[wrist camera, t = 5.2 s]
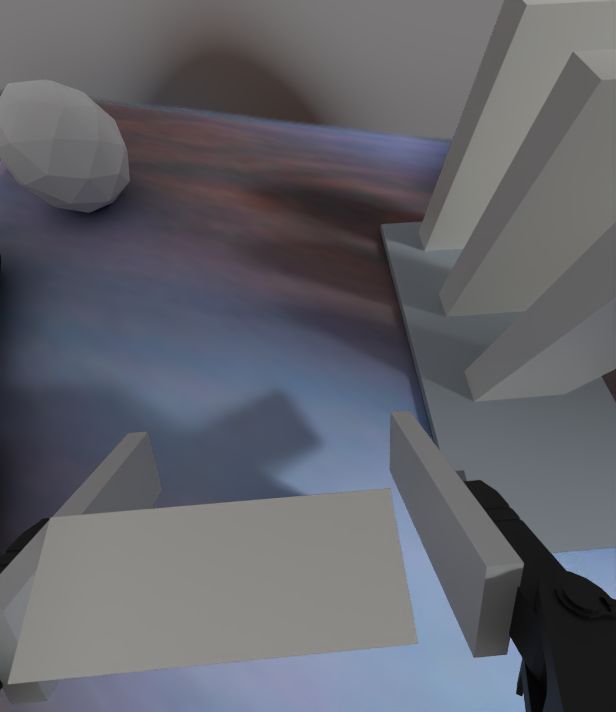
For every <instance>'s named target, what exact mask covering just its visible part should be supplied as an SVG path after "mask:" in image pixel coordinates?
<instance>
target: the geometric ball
mask: <svg viewBox="0 0 616 712" xmlns="http://www.w3.org/2000/svg"><path fill="white" fill-rule="evenodd" d="M0 159H1V161H2V162H3V163H4V165H5V166H6V167H7V169H8V170H9V171H10V173H11V174H12V176H13V177H14V178H15V180H16V181H17V182H18V184H20V185H21V186H23V187H24V188H26V189H27V190H29V191H30V192H32V193H33V194H35V195H36V196H38V197H39V198H41V199H42V200H44V201H45V202H47V203H48V204H50V205H51V206H53V207H57V208H63V209H69V210H75V211H81V212H87V213H90V212H92V211H95V210H97V209H99V208H102V207H104V206H107V205H109V204H111V203H113V202H114V201H115V200H116V198H117V197H118V196H119V194H120V193H121V192H122V191H123V189H124V188H125V187H126V186H127V184H128V183H129V182H130V176H129V164H128V152H127V149H126V146H125V144H124V141H123V139H122V136H121V134H120V132H119V129H118V127H117V124H116V122H115V120H114V119H113V118H112V117H111V116H110V115H108V114H107V113H106V112H105V111H104V110H103V109H102V108H100V107H99V106H98V105H97V104H96V103H95V102H94V101H93V100H91V99H90V98H89V97H88V96H87V95H86V94H85V93H83V92H82V91H79V90H76V89H73V88H71V87H68V86H65V85H62V84H59V83H56V82H54V81H51V80H35V81H26V82H18V83H9V84H7V86H6V88H5V90H4V91H3V93H2V95H1V96H0Z"/></svg>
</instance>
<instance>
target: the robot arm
mask: <svg viewBox="0 0 616 712" xmlns="http://www.w3.org/2000/svg"><path fill="white" fill-rule="evenodd" d="M390 472H391V475H392V477H393V479H394V481H395V483H396V486H397V488H398V490H399V492H400V495H401V497H402V499H403V501H404V503H405V506H406V508H407V510H408V512H409V515H410V517H411V519H412V521H413V523H414V526H415V528H416V530H417V532H418V535H419V537H420V539H421V541H422V543H423V546H424V548H425V550H426V552H427V555H428V557H429V559H430V561H431V563H432V566H433V568H434V570H435V572H436V575H437V577H438V579H439V581H440V584H441V586H442V588H443V590H444V592H445V595H446V597H447V599H448V601H449V604H450V606H451V608H452V610H453V612H454V615H455V617H456V619H457V621H458V624H459V626H460V628H461V630H462V632H463V635H464V637H465V639H466V641H467V644H468V646H469V648H470V650H471V652H472V655H473V657H474V658H476V657H486V656H496V655H506V654H507V651H508V646H509V641H510V637H511V639H512V640H513V642H514V644H515V646H516V647H517V649H518V651H519V653H520V654H521V656H522V663H521V668H520V672H519V677H518V682H517V691H516V694H518V695H520V696H522V695H523V693H524V701H525V709H526V712H616V600H615V599H612V598H611V597H610V596H609V595H608V594H607V593H606V592H605V591H604V590H603V589H602V588H600V587H599V586H597V585H596V584H594V583H592V582H591V581H589V580H588V579H586V578H584V577H582V576H579V575H577V574H574V573H572V572H569V571H566V570H565V569H564V568H563V567H562V565H561V564H560V563H559V562H558V561H557V560H556V559H555V557H554V556H553V555H552V554H551V553H550V552H549V550H548V549H547V548H546V547H545V546H544V545H543V543H542V542H541V541H540V540H539V539H538V538H537V537H536V535H535V534H534V533H533V532H532V531H531V530H530V528H529V527H528V526H527V525H526V524H525V523H524V521H523V520H520V517H519V516H518V514H517V513H516V512H515V511H514V510H513V509H512V508H510V506H509V504H508V503H507V502H506V501H505V499H504V498H503V497H502V496H501V495H500V494H499V492H498V491H496V490H495V489H493V488H492V487H490V486H489V485H487V484H486V483H484V482H483V481H481V480H473V481H462V480H461V478H460V477H459V476H458V474H457V473H456V472H455V470H454V469H453V468H452V466H451V465H450V464H449V462H448V461H447V460H446V458H445V457H444V456H443V454H442V453H441V452H440V450H439V449H438V448H437V446H436V445H435V444H434V442H433V441H432V440H431V438H430V437H429V436H428V434H427V433H426V432H425V430H424V429H423V428H422V426H421V425H420V424H419V422H418V421H417V419H416V418H415V417H414V415H413V414H412V413H411V411H410V410H409V411H396V412H391V420H390ZM162 490H163V489H162V485H161V481H160V477H159V473H158V469H157V465H156V461H155V456H154V452H153V448H152V444H151V440H150V436H149V432H148V431H146V432H134V433H128V434H127V435H126V436H125V437H124V438H123V439H122V441H121V442H120V443H119V444H118V445H117V446H116V447H115V448H114V449H113V450H112V452H111V453H110V454H109V455H108V456H107V457H106V458H105V459H104V460H103V461H102V463H101V464H100V465H99V466H98V467H97V468H96V469H95V470H94V471H93V472H92V474H91V475H90V476H89V477H88V478H87V479H86V480H85V481H84V482H83V484H82V485H81V486H80V487H79V488H78V489H77V490H76V491H75V492H74V493H73V495H72V496H71V497H70V498H69V499H68V500H67V501H66V502H65V503H64V504H63V506H62V507H61V508H60V509H59V510H58V511H57V512H56V513H55V514H54V515H53V517H62V516H73V515H85V514H96V513H108V512H120V511H131V510H143V509H152V508H153V506H154V504H155V503H156V501H157V499H158V497H159V495H160V493H161V492H162ZM49 520H50V518H45V519H42V520H41V521H39V522H38V523H37V524H35V525H34V526H32V527H31V528H30V529H28V530H27V531H25V532H24V533H23V534H22V535H21V536H20V537H19V538H18V539H17V540H16V541H15V542H14V543H13V544H12V545H11V546H10V547H9V548H8V549H7V550H6V553H5V554H2V555H1V556H0V690H1V688H3V690H4V691H5V693H6V695H7V697H8V698H9V700H10V702H11V704H19V703H29V702H39V701H47V700H48V698H49V697H50V695H51V693H52V691H53V689H54V687H55V686H56V684H57V682H58V680H59V679H57V680H46V681H36V682H26V683H16V684H8V680H9V676H10V672H11V668H12V664H13V660H14V656H15V653H16V649H17V645H18V641H19V637H20V633H21V629H22V625H23V621H24V618H25V614H26V610H27V606H28V602H29V598H30V594H31V590H32V586H33V583H34V579H35V575H36V571H37V567H38V563H39V559H40V555H41V551H42V548H43V544H44V540H45V536H46V532H47V528H48V524H49Z"/></svg>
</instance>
